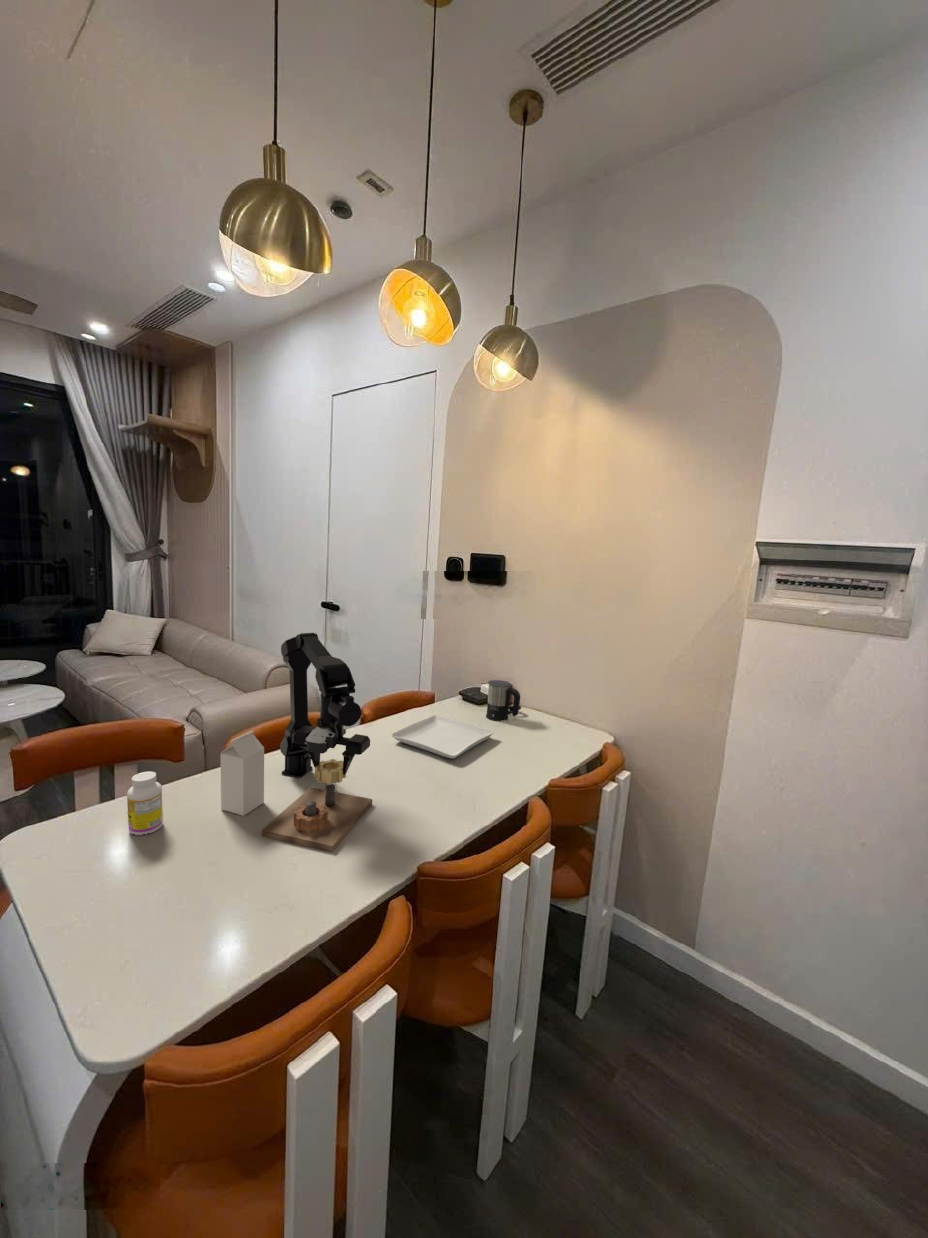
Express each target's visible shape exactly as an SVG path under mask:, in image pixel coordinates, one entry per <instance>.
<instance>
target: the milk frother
mask: <svg viewBox="0 0 928 1238" xmlns="http://www.w3.org/2000/svg"><path fill="white" fill-rule="evenodd" d="M487 685H488V693H487V707H486V715H485V717H486V718H487V719H488V720H491V721H496V722H500V721H501V722H504V721H506V720H508V718H509V716H510V715H512V716H513V717H517V716H518V714H519V711H520V710H521V709H522V706H521V705H520V702H521V693H520V692H519V690H517V689H516V688H514V687H510V686H511V683H510V682H509V681H506V680H502V679H493V680H489V681H488V682H487ZM511 695H512V696H513V704H512V705H510V698H511Z"/></svg>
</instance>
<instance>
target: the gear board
mask: <svg viewBox="0 0 928 1238" xmlns="http://www.w3.org/2000/svg"><path fill="white" fill-rule="evenodd" d="M324 787H325V789H324V788H322V789H321V788H318V787H314V786H313V787H312V786H311V787H309V788H308V789H307V790H306V791H305V792H303V793H302V794H301V795H300V796H299V797H298V798H296V799H295V800H294V801H293V802H292V803H290V805H288V806H287V807H286V808H285V809H284V810H282V811H281V813H279V814H278V815H277V816H276V817H275V818H273V819H272V820H271V821H270V822H269V823H267V825H265V826H264V827H263V828H262V829H261V837H265V838H269V839H272V840H273V839H275V840H278V841H282V842H287V843H291V844H295V845H299V846H304V847H309V848H313V849H318V850H321V851H326V852H330V853H333V852H334V851H335V850H336V848H337V847H338V846H339V845H340V844H341V842H342V841H343V840H344V839H345V837H346V836H347V835H348V834H349V833H350V831H352V830H353V828H354V827H355V825H357V823H358V822H359V821H360V820H361V819H362V817H363V816H364V815H365V814H366V812H367V811H368V810H369V809H370V808H371V806H372V805H373V799H372V798H368V797H363V796H357V795H353V794H349V793H343V792H337V791H336V784H334V783H331V785H325V786H324Z"/></svg>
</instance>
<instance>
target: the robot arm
mask: <svg viewBox="0 0 928 1238" xmlns="http://www.w3.org/2000/svg"><path fill="white" fill-rule="evenodd" d="M326 648H327V647H325V645H324V644H323V643H322V642H321V641H320V639H319V636H318V633H316V632H304V633H303V632H301V633H299V634H297V635H296V636H294V637H291V638H288V639H286V640H285V641H284V642H283V643H282V644H281V646H280V652H281V653H280V654H281V656H282V658H283V659H282V660H283V662H284V664H285V665H286V667H287V669H288V670H289V691H290V692H289V694H290V698H289V699H290V721H289V723H288V724H287V726H286V727H285V728H284V729H285V730H284V736H283V738H282V741H281V742H280V744H279V749H280V753H281V754H282V756H284V769H283V770H282V771H281V775H285V776H291V777H295V778H302V777H303V776H305V775H306V774H308V773H309V771H311V770H312V769H313V768H314V769H315V765H319V764H320V762H321V754H325V753H327V752H328V750H329V749H335V748H336V746H337V745H339V746H345V750H344V751H343V752H341V755H342V757H343V760H342V761H343V775H345V774H346V775H347V773H348V770H349V768H350V766H351V763H352V762H353V759H354V758H355V755H357V756H359V755H362V754H363V753H365V752H366V750H367V749H369V748H370V747H371V738H370V737H369V736H368V735H364V734H357V733H355V734H354V735H352V736H351V737H346V736H345V735H346V733H347V730H346V729H344V728H345V727H351V726H354V725H356V724H357V723H358V722H359V720H360V719H361V716H362V709H361V706H360V705H359V704H358V703H357V702H355V697H354V696H352V695H350V694H354V693H356V689H355V686H356V683H355V681H354V677H353V675H352V672H351V669H350V667H349V666H348V664H347V663H346V662H345V661H343V660H342V659H341V658H339V657H333V656H332V654H331V653H330V652H329V650H328V649H326ZM311 664H312V665H313V667H314V668H315V670H316V671H315V681H316V684H317V686H318V691H319V692H320V708H319V710H320V712H319V713H320V715H319V717H318V718H317V719H316V724H315V726H313V725H312V723H311V721H310V720H309V707H308V705H309V704H308V703H309V700H308V699H309V698H308V669H309V667H310V666H311ZM340 686H341V687H340ZM344 736H345V737H344ZM311 764H313V765H311Z"/></svg>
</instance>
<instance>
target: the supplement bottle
mask: <svg viewBox="0 0 928 1238" xmlns="http://www.w3.org/2000/svg"><path fill="white" fill-rule="evenodd" d="M131 785H132V786H131V787H130V788H129V789H128V790H127V793H126V800H127V801H126V802H127V824H128V825H127V826H128V832H129V833H130V834H131V833H132V834H131V835H133V834H135V835H134V836H144V835H143V834H145V835H149V834H152V833H154V832H156V831H157V830H159V829H161V827H162V826H163V822H164V812H163V811H164V810H163V807H164V806H163V787H162V784H161V783H160V782H158V781H157V773H156V772H155V771H142V772H139V773H136V774H134V775H133V776H132V777H131ZM148 833H149V834H148Z"/></svg>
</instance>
